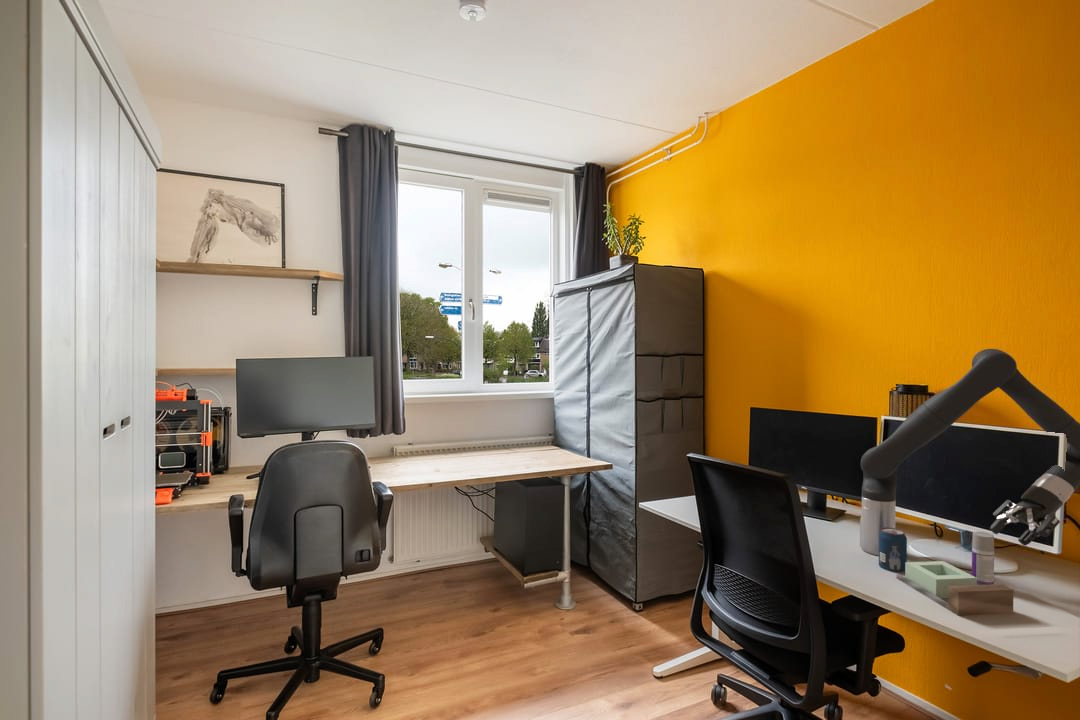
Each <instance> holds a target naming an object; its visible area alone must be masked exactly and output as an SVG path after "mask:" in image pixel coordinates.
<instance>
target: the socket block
mask: <svg viewBox="0 0 1080 720" xmlns="http://www.w3.org/2000/svg"><path fill="white" fill-rule="evenodd" d="M904 573H905V574H904V577H905V578H907V579H908V580H910V581H912V582H913V583H915V584H917V585H919V586H920V587H922V588H924V589H925V590H927V591H929V592H930V593H932V594H934V595H935V596H937V597H939V598H940V599H948V595H949V586H967V585H977V578H976V577H974V576H972V574H970V573H968V572H966V571H964V570H962V569H960V568H958V567H955V566H954V565H952V564H950V563H948V562H947V561H944V560H938V561H937V560H936V561H935V560H932V561H911V562H908V561H907V562H905V572H904Z"/></svg>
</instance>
